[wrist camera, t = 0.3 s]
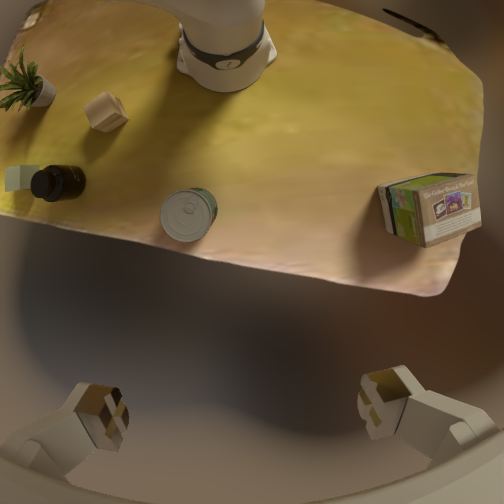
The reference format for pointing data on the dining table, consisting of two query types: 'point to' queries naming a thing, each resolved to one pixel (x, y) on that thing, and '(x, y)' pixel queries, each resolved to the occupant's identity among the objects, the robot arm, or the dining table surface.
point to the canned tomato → (188, 214)
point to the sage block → (19, 177)
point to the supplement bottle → (58, 183)
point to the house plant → (27, 86)
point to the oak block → (105, 112)
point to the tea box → (431, 207)
